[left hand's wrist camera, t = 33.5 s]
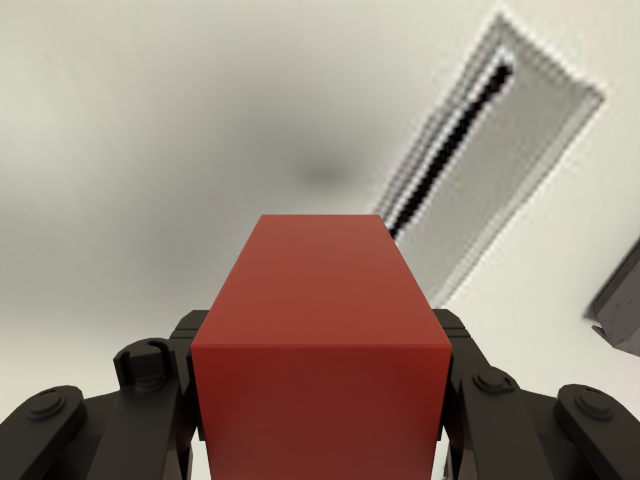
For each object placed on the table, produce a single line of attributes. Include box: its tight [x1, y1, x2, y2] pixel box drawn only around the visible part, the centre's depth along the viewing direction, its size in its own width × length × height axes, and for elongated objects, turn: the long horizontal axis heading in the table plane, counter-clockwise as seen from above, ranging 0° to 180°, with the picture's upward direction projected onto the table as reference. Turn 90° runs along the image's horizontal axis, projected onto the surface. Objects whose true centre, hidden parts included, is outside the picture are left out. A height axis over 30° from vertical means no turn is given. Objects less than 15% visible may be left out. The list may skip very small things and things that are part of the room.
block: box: [191, 215, 452, 480], centre depth 11 cm, size 5×5×8 cm
